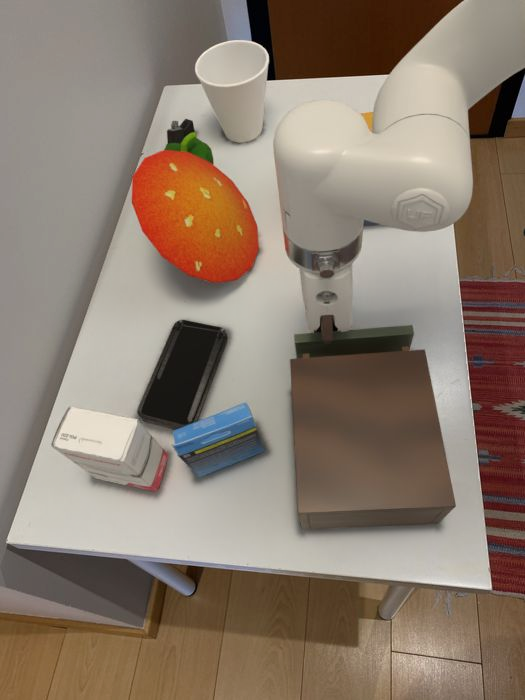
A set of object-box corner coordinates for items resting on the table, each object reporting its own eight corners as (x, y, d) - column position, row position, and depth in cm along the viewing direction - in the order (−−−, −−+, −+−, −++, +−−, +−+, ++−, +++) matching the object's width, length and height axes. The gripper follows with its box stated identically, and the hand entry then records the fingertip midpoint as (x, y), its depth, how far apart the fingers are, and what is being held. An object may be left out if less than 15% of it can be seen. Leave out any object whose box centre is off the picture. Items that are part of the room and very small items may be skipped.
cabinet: (295, 392, 65) (289, 358, 57) (413, 384, 64) (425, 349, 56) (302, 529, 57) (297, 513, 49) (438, 524, 56) (456, 506, 48)
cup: (226, 103, 95) (212, 36, 84) (286, 112, 91) (279, 43, 81) (200, 146, 90) (182, 80, 79) (262, 157, 87) (252, 90, 76)
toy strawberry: (152, 306, 74) (113, 237, 61) (176, 201, 84) (147, 122, 71) (252, 307, 72) (234, 236, 59) (265, 199, 82) (252, 117, 69)
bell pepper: (178, 216, 82) (160, 167, 74) (166, 183, 86) (147, 133, 78) (227, 199, 83) (214, 149, 74) (213, 167, 87) (200, 116, 78)
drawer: (297, 354, 67) (293, 325, 60) (403, 346, 65) (411, 315, 59) (305, 483, 59) (301, 465, 52) (425, 477, 57) (437, 457, 51)
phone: (228, 328, 69) (190, 430, 63) (229, 333, 70) (192, 433, 64) (175, 318, 71) (133, 415, 65) (177, 322, 72) (136, 418, 66)
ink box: (171, 452, 63) (139, 418, 53) (158, 492, 61) (122, 465, 51) (108, 440, 65) (65, 404, 55) (93, 478, 63) (46, 449, 52)
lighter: (184, 148, 94) (184, 117, 91) (195, 149, 93) (195, 118, 91) (163, 154, 87) (162, 121, 84) (174, 155, 86) (174, 122, 84)
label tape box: (256, 424, 64) (240, 383, 53) (267, 454, 62) (253, 417, 51) (189, 450, 63) (160, 414, 52) (199, 481, 61) (170, 450, 50)
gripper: (371, 295, 45) (360, 382, 61) (354, 174, 52) (348, 281, 68) (286, 301, 45) (298, 386, 61) (281, 181, 53) (292, 285, 69)
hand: (324, 331), depth 65 cm, fingers closed
